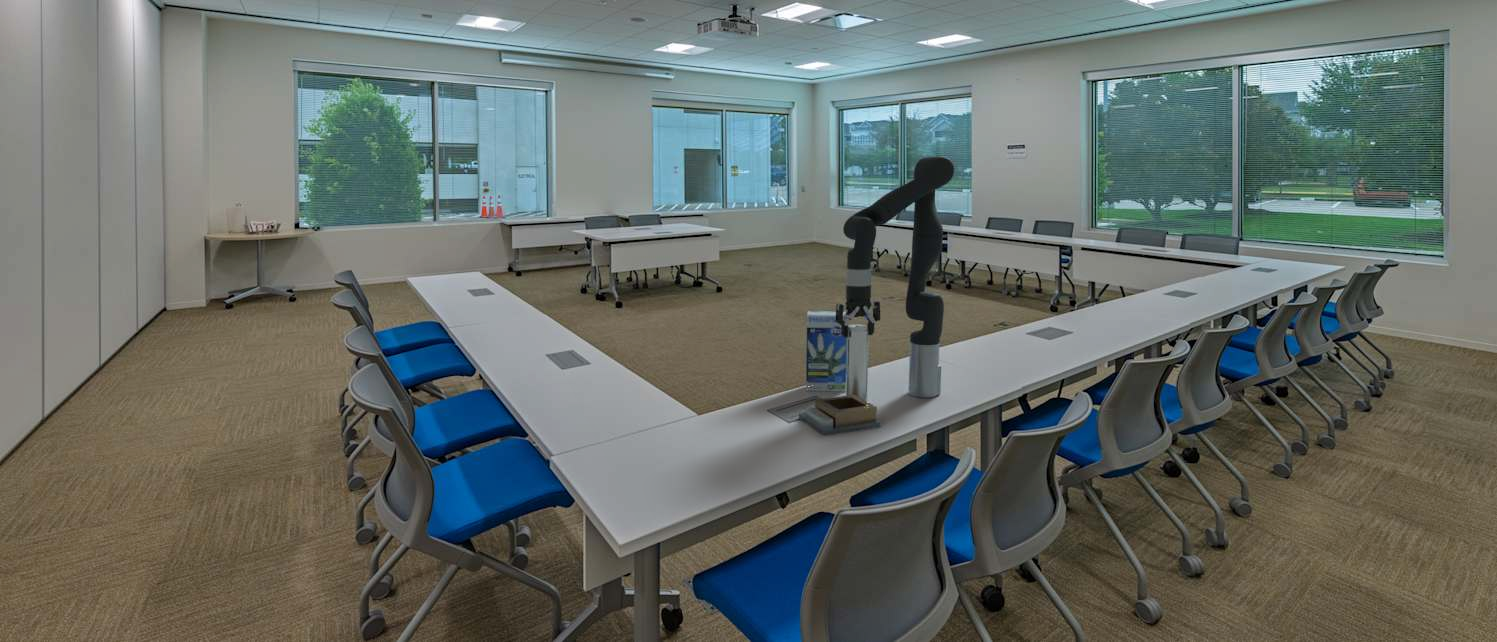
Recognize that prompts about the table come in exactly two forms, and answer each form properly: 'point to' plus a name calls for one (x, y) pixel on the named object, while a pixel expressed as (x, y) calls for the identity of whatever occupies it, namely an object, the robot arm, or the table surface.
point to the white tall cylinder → (857, 361)
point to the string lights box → (825, 353)
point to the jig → (840, 415)
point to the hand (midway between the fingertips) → (857, 336)
